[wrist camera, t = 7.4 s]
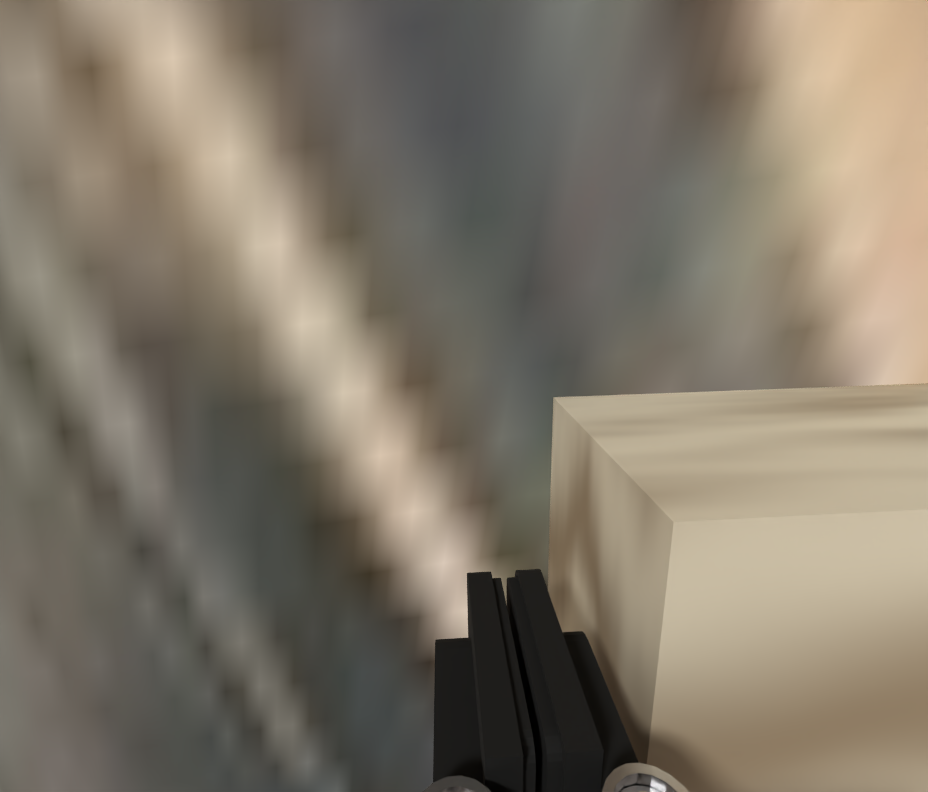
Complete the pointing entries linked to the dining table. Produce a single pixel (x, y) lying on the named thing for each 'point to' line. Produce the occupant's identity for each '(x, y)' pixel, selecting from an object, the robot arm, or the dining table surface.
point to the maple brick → (752, 579)
